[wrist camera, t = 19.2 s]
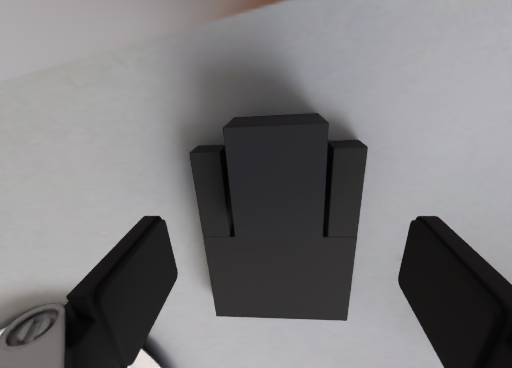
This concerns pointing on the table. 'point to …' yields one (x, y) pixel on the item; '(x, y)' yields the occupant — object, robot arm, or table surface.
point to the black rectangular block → (277, 176)
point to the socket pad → (282, 244)
